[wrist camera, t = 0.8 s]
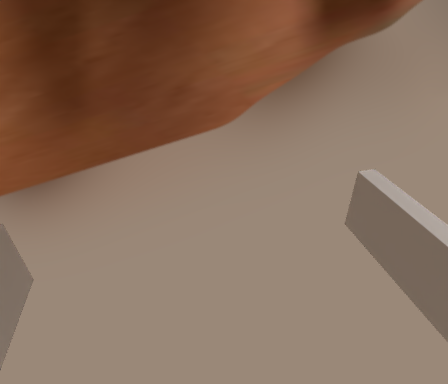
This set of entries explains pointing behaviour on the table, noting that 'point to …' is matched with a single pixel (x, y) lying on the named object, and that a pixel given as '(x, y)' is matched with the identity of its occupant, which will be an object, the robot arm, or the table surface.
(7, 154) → the table surface
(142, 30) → the table surface
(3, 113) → the table surface
